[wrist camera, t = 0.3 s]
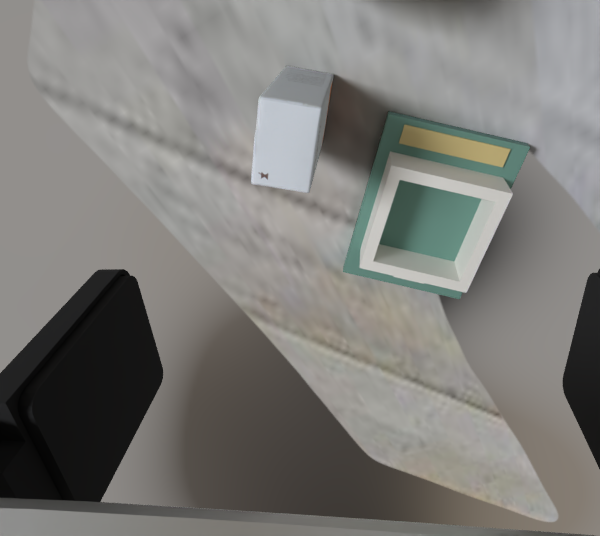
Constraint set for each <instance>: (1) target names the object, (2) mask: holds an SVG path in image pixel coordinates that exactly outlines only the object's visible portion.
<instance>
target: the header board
mask: <svg viewBox="0 0 600 536" xmlns="http://www.w3.org/2000/svg"><path fill="white" fill-rule="evenodd" d="M529 149H530V146H529V145H528V144H527V143H524V142H519V141H515V140H511V139H506V138H502V137H498V136H493V135H489V134H485V133H480V132H476V131H472V130H467V129H463V128H459V127H455V126H450V125H446V124H442V123H437V122H433V121H429V120H424V119H420V118H416V117H411V116H407V115H403V114H398V113H394V112H390V111H388V114H387V118H386V121H385V125H384V128H383V132H382V135H381V139H380V142H379V146H378V149H377V153H376V156H375V160H374V163H373V166H372V170H371V173H370V177H369V180H368V184H367V187H366V191H365V194H364V198H363V201H362V205H361V208H360V212H359V215H358V218H357V222H356V225H355V229H354V232H353V236H352V239H351V243H350V246H349V250H348V253H347V257H346V260H345V264H344V267H343V272H346V273H350V274H354V275H359V276H363V277H367V278H371V279H376V280H380V281H384V282H388V283H393V284H397V285H401V286H406V287H410V288H414V289H418V290H423V291H427V292H431V293H435V294H440V295H444V296H449V297H453V298H457V299H460V297H461V295H462V292H465V293H467V291H468V289H469V287H470V284H471V282H472V280H473V278H474V276H475V274H476V272H477V270H478V268H479V265H480V263H481V261H482V259H483V257H484V255H485V253H486V250H487V248H488V246H489V244H490V242H491V240H492V238H493V236H494V233H495V231H496V229H497V227H498V225H499V223H500V221H501V219H502V217H503V214H504V212H505V210H506V208H507V206H508V204H509V202H510V200H511V197H512V195H513V193H512V191H511V187H512V185H513V183H514V181H515V179H516V176H517V174H518V172H519V170H520V168H521V166H522V164H523V162H524V159H525V157H526V155H527V153H528V151H529Z"/></svg>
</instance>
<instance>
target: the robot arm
mask: <svg viewBox="0 0 600 536" xmlns="http://www.w3.org/2000/svg"><path fill="white" fill-rule="evenodd" d="M162 379H163V368H162V364H161V361H160V357H159V354H158V350H157V347H156V343H155V340H154V337H153V333H152V330H151V326H150V323H149V320H148V316H147V313H146V309H145V306H144V303H143V299H142V295H141V292H140V289H139V285H138V282H137V280H136V278H135V277H133V276H130V275H129V273H128V272H127V271H126V270H124V269H122V270H98V271H97V272H95V273H94V274H93V275H92V276H91V277H90V278H89V279H88V281H87V282H86V283H85V284H84V285H83V286H82V287H81V288H80V289H79V290H78V291H77V292H76V293H75V294H74V295H73V296H72V298H71V299H70V300H69V301H68V302H67V303H66V304H65V305H64V306H63V307H62V308H61V309H60V310H59V311H58V313H57V314H56V315H55V316H54V317H53V318H52V319H51V320H50V321H49V322H48V323H47V324H46V325H45V326H44V327H43V328H42V329H41V331H40V332H39V333H38V334H37V335H36V336H35V337H34V338H33V339H32V340H31V341H30V342H29V343H28V344H27V346H26V347H25V348H24V349H23V350H22V351H21V352H20V353H19V354H18V355H17V356H16V357H15V358H14V359H13V360H12V361H11V363H10V364H9V365H8V366H7V367H6V368H5V369H4V370H3V371H2V372H1V373H0V536H594V535H581V534H568V533H555V532H541V531H527V530H513V529H497V528H484V527H470V526H457V525H443V524H429V523H416V522H400V521H386V520H371V519H357V518H341V517H327V516H312V515H311V516H310V515H296V514H281V513H266V512H251V511H236V510H219V509H204V508H203V509H202V508H187V507H171V506H153V505H137V504H121V503H105V502H100V501H101V499H102V497H103V495H104V493H105V492H106V490H107V488H108V486H109V484H110V482H111V480H112V478H113V476H114V474H115V472H116V470H117V468H118V466H119V464H120V462H121V460H122V459H123V457H124V455H125V453H126V451H127V449H128V447H129V445H130V443H131V441H132V439H133V437H134V435H135V433H136V431H137V430H138V428H139V426H140V424H141V422H142V420H143V418H144V416H145V414H146V412H147V410H148V408H149V406H150V404H151V402H152V401H153V399H154V397H155V395H156V393H157V391H158V389H159V387H160V385H161V382H162ZM563 389H564V394H565V396H566V399H567V401H568V403H569V405H570V407H571V409H572V411H573V413H574V416H575V418H576V420H577V422H578V424H579V426H580V428H581V430H582V432H583V434H584V436H585V439H586V441H587V443H588V445H589V447H590V449H591V452H592V454H593V456H594V458H595V460H596V462H597V464H598V467H599V469H600V269H599V271H598V273H592V274H590V276H589V277H588V280H587V284H586V287H585V291H584V295H583V299H582V303H581V308H580V311H579V315H578V319H577V324H576V327H575V331H574V335H573V339H572V344H571V347H570V351H569V356H568V359H567V364H566V367H565V372H564V376H563Z"/></svg>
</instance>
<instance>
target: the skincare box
mask: <svg viewBox="0 0 600 536" xmlns="http://www.w3.org/2000/svg"><path fill="white" fill-rule="evenodd" d="M333 77H334V75H333V74H331V73H324V72H319V71H313V70H308V69H303V68H297V67H291V66H286V67H285V68H284V69H283V70H282V71H281V72H280V74H279V75H278V76H277V77H276V78H275V80H274V81H273V82H272V83H271V84H270V85H269V87H268V88H267V89H266V90H265V91H264V92H263V94H262V95H261V96H260V97H259V101H258V112H257V123H256V132H255V138H254V152H253V164H252V176H251V183H252V184H254V185H260V186H267V187H274V188H280V189H287V190H292V191H299V192H305V193H309V192H310V188H311V185H312V181H313V177H314V173H315V170H316V166H317V162H318V158H319V154H320V151H321V147H322V144H323V138H324V132H325V126H326V120H327V114H328V107H329V101H330V94H331V88H332V82H333Z"/></svg>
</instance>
